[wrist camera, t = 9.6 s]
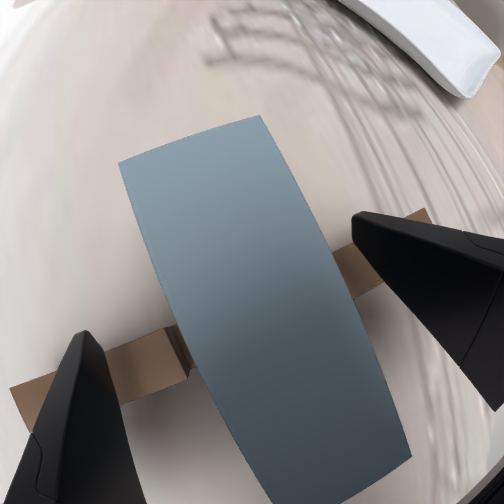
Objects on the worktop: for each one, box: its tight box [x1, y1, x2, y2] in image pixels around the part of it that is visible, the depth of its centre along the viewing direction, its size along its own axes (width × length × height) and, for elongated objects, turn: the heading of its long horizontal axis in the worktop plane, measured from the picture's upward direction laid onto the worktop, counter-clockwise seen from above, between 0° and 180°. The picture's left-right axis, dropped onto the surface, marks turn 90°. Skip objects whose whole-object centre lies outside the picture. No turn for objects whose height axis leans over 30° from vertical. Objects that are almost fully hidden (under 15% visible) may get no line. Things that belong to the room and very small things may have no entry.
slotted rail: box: [9, 207, 432, 433], centre depth 14 cm, size 2×20×5 cm, turn 115°
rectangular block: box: [118, 115, 412, 504], centre depth 11 cm, size 8×3×11 cm, turn 25°
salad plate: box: [337, 0, 501, 99], centre depth 24 cm, size 21×21×3 cm
